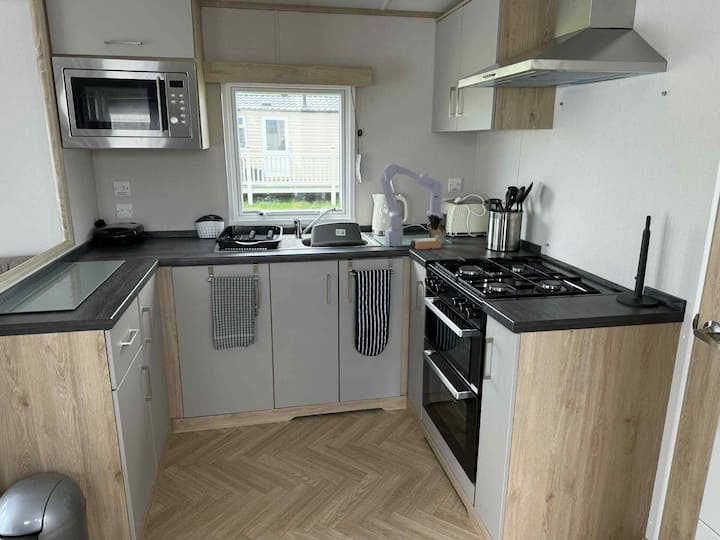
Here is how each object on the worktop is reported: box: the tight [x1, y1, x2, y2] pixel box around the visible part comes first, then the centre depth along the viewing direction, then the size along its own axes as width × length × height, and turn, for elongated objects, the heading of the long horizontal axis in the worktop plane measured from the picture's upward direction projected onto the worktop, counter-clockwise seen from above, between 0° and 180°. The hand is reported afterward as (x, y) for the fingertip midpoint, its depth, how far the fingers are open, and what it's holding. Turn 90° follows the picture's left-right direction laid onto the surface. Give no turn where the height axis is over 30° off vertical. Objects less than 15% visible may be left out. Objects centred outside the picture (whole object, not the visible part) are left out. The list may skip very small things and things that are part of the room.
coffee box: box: [428, 212, 448, 244], centre depth 289 cm, size 9×6×16 cm
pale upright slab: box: [410, 237, 440, 250], centre depth 275 cm, size 15×7×4 cm, turn 109°
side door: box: [416, 235, 442, 250], centre depth 270 cm, size 14×2×7 cm, turn 109°
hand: (434, 229), depth 274 cm, fingers closed
